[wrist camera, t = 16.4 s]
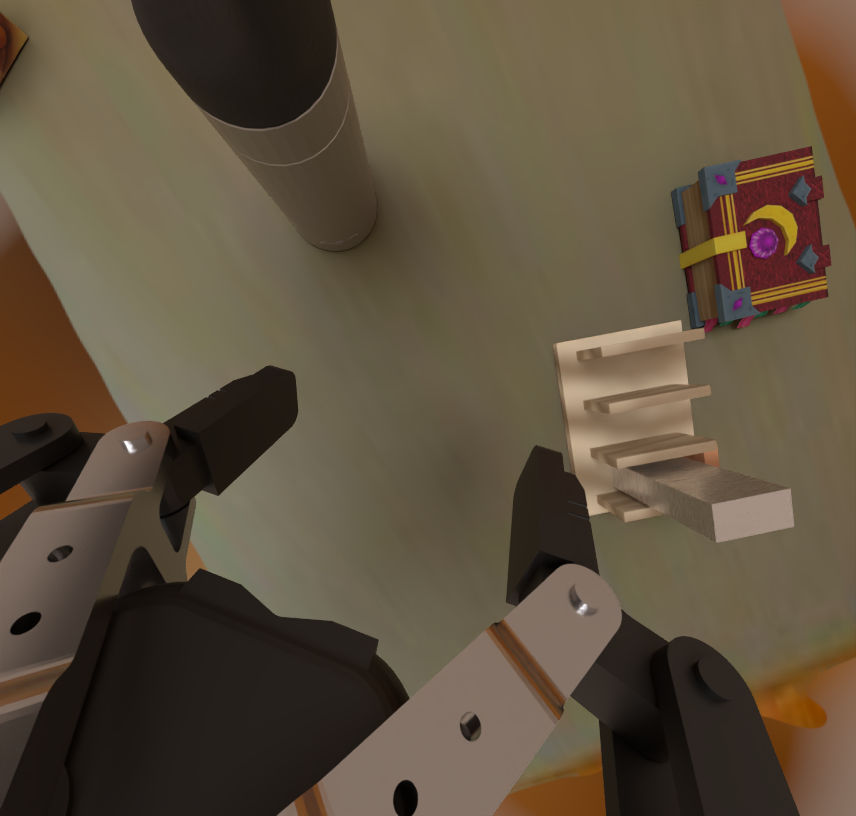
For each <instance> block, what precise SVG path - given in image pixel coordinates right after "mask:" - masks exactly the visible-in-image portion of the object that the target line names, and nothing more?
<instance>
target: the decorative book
mask: <svg viewBox="0 0 856 816" xmlns="http://www.w3.org/2000/svg"><path fill="white" fill-rule="evenodd" d="M740 161H741V160H737V161H732V162H727V163H723V164H718V165H713V166H709V167H704V168H703V169H701V170H700V171H699V172H698V177H699V181H697V182H696V183H695V184H693V185H688V186H684V187H679V188H676V189H675V190H673V191H672V192H671V194H672V200H673V206H674V213H675V219H676V225H677V227H679V228H680V235H681V242H682V249H683V253H681V254H679V259H680V265H681V269H684V268H685V269H686V276H687V282H688V289H689V294H687V300H688V307H689V314H690V322H691V328H696V327H701V326H704V332H709V331H711V330H712V328H713V327H714V326H715V324H716V323H718V322H719V323H721V324H720V326H723V325H728V324H731V323H732V322H733V320H736V319H740V318H743V319H742V320H741V321H740V323H739V325H738V327H737V328H741V327H745V326H748V325H749V324H750V322H751V320H752V319H753V318H756V317H761V316H765V315H766V314H767V312H768V310H773V309H776V311H775V312H774V314H777V313H781V312H784V311H786V310H787V308H788V307H789V306H790V305H795V304H798V305H797V306H796V307H794V308H793V309H797V308H802V307H804V306H805V305H807V304H808V303H810V302H811V301H812V300H817V299H821V298H826V297H828V290H827V281H826V272H825V267H827V266H831V257H830V248H829V245H824V246H823V245H822V235H821V226H820V217H819V208H818V200H819V199H822V198H824V193H823V183H822V176H818V177H815V172H814V162H813V153H812V146H810V147H806V148H801V149H797V150H793V151H788V152H784V153H779V154H775V155H770V156H766V157H761V158H757V159H752V160H748V161H743V162H740ZM793 309H791V310H793ZM771 315H773V314H771Z"/></svg>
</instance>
